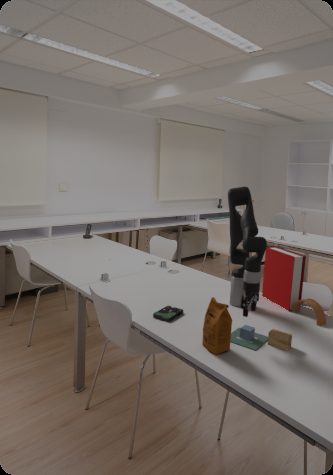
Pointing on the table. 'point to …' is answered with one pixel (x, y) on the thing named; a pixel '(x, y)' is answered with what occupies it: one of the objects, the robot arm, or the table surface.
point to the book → (283, 276)
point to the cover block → (279, 339)
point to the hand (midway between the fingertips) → (249, 313)
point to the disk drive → (168, 313)
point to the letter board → (252, 344)
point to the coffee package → (217, 327)
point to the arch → (316, 308)
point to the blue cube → (247, 332)
